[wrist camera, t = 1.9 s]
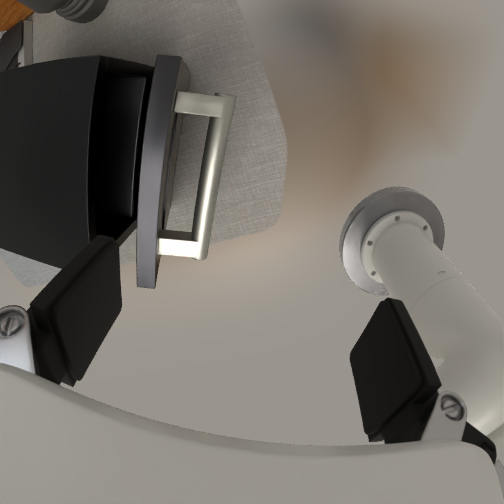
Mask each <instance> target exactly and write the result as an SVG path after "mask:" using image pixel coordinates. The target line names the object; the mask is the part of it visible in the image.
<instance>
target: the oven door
mask: <svg viewBox="0 0 504 504" xmlns="http://www.w3.org/2000/svg"><path fill="white" fill-rule="evenodd" d="M190 76H191V74H190V72H189V70H188V68H187V67H186V65H185V63H184V61H183V59H182V57H179V56H167V55H157V59H156V64H155V69H154V74H153V79H152V84H151V90H150V96H149V102H148V108H147V115H146V122H145V129H144V137H143V146H142V155H141V166H140V178H139V192H138V210H137V247H136V264H137V287H144V288H153V289H154V288H155V286H156V279H157V274H158V267H159V262H160V256H161V255H171V256H182V257H191V258H193V259H195V260H203V259H205V258H207V254H208V247H209V241H210V235H211V229H212V223H213V217H214V211H215V205H216V199H217V194H218V188H219V182H220V177H221V172H222V166H223V161H224V156H225V151H226V146H227V141H228V136H229V131H230V126H231V121H232V116H233V112H234V107H235V102H236V98H237V97H236V96H232V95H226V94H219V93H215V95H208V94H201V93H193V92H187V91H188V86H189V81H190ZM184 113H185V114H194V115H202V116H209V117H210V120H209V126H208V131H207V136H206V142H205V148H204V153H203V159H202V165H201V171H200V178H199V184H198V191H197V198H196V205H195V212H194V219H193V227H192V232H183V231H173V230H166V225H167V220H168V216H169V211H170V206H171V199H172V192H173V183H174V175H175V167H176V160H177V153H178V146H179V139H180V133H181V127H182V121H183V115H184Z"/></svg>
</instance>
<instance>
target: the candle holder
mask: <svg viewBox="0 0 504 504" xmlns="http://www.w3.org/2000/svg"><path fill="white" fill-rule="evenodd" d="M17 1H18V2H20V3H22V4H23V5H25V6H27V7H28V8H30V9H32V10H33V11H35V12H36V13H50V12H52V11H55V10H56V12H57V14H58V15H60V16H61V17H64V18H65V19H66V20H70V21H74V22H78V23H87V22H90V21H92V20H93V19H95V18H96V17H98V16H99V15H100V14H101V12H102V11H103V10H104V9H105V6H106V4H107V2H108V0H17Z"/></svg>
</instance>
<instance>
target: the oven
mask: <svg viewBox="0 0 504 504" xmlns="http://www.w3.org/2000/svg"><path fill="white" fill-rule="evenodd" d="M154 69H155V67H153V66H149V65H145V64H141V63H136V62H132V61H127V60H123V59H118V58H113V57H107V56H101V55H96V56H85V57H75V58H67V59H60V60H53V61H47V62H41V63H36V64H31V65H26V66H22V67H17V68H13V69H9V70H5V71H1V72H0V248H2V249H4V250H7V251H10V252H13V253H16V254H18V255H21V256H24V257H27V258H30V259H33V260H36V261H39V262H42V263H45V264H48V265H51V266H54V267H58V268H61V269H63V268H64V267H65V266H66V265H67V264H68V263H69V262H70V261H71V260H72V259H73V258H74V257H75V256H76V255H77V254H78V253H79V252H80V251H81V250H82V249H83V248H84V247H85V246H87V245H88V244H89V243H90V242H91V241H92V240H93V239H94V238H95V237H96V236H98V235H104V236H108V237H112V238H114V239H115V243H118V245H119V247H120V246H121V245H122V243H123V242H124V241H125V240H126V239H127V238H128V237H129V235H130V234H131V233H132V232H133V231H134V230H135V229H136V228H137V210H138V192H139V178H140V166H141V155H142V146H143V137H144V129H145V122H146V115H147V108H148V102H149V96H150V90H151V84H152V79H153V74H154Z"/></svg>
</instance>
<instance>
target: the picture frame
mask: <svg viewBox="0 0 504 504" xmlns="http://www.w3.org/2000/svg"><path fill="white" fill-rule="evenodd" d="M32 22H33V21H27V20H24V21H23V20H21V21H20V22H18V23H17V24H16V25H14V26H13V27H12V28H10V29H9V30H8V31H7V32H5V33H4V34H3V36H2V38H1V39H0V72H1V71H5V70H9V69H13V68H17V67H22V66H26V65H31V64H33V63H32Z"/></svg>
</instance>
